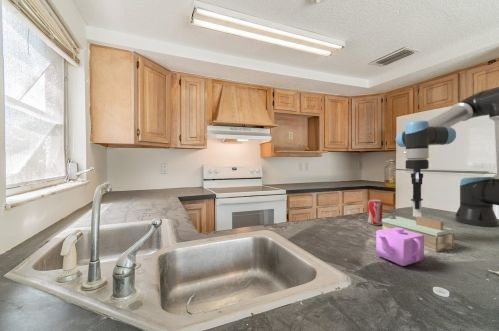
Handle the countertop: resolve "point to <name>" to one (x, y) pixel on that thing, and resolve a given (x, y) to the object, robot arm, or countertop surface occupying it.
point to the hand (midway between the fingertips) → (416, 216)
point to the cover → (420, 225)
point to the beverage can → (375, 212)
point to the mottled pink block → (400, 246)
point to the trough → (430, 239)
